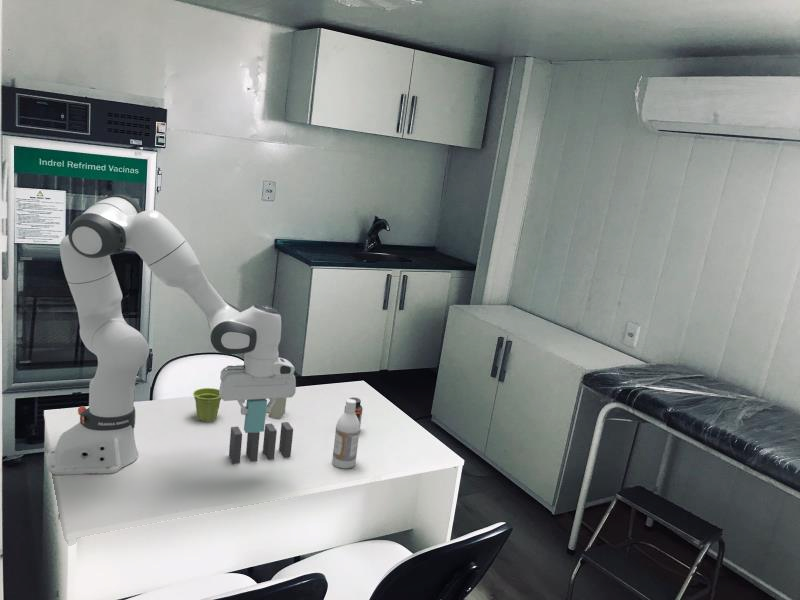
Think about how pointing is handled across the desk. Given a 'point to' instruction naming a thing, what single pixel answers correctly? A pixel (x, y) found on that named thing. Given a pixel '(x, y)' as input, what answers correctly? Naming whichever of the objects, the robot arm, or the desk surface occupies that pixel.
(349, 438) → the bath foam
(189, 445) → the desk surface
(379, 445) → the desk surface
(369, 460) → the desk surface
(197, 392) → the plant pot
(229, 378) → the robot arm
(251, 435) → the domino
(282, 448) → the domino
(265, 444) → the domino
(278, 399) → the skincare box
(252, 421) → the domino
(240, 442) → the domino
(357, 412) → the supplement bottle
